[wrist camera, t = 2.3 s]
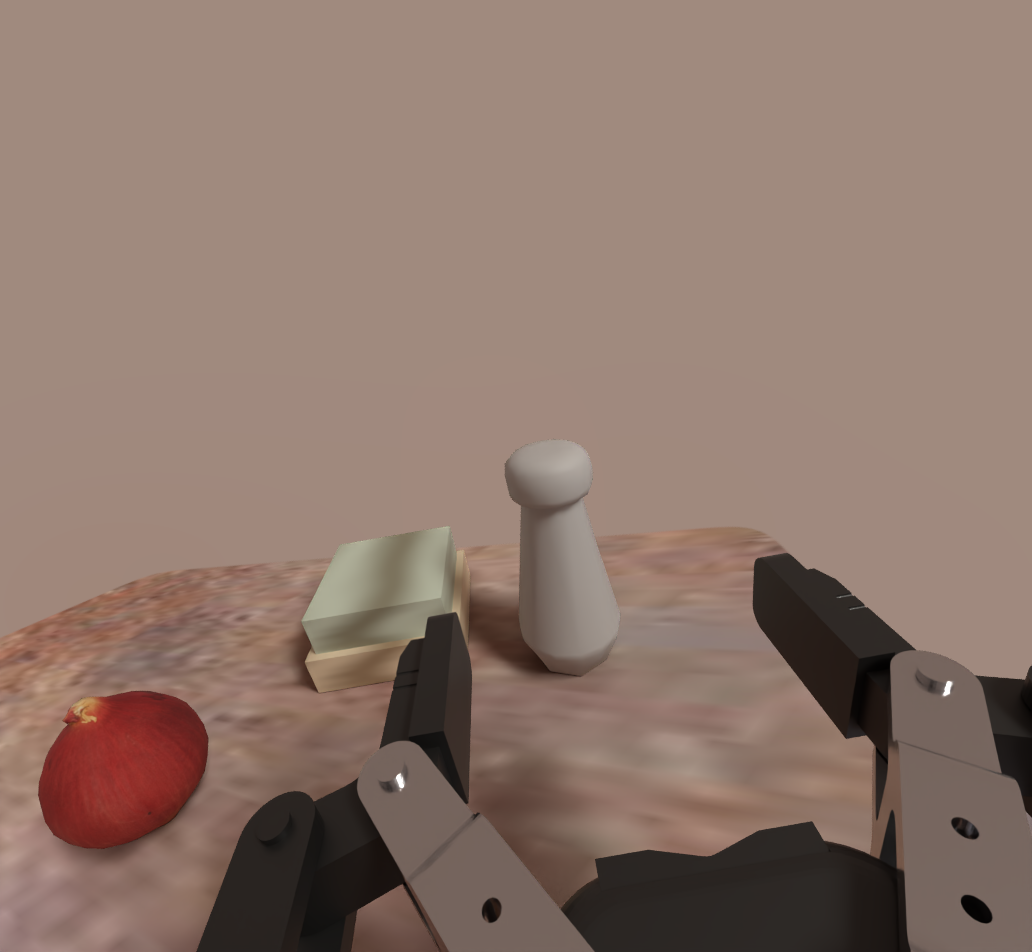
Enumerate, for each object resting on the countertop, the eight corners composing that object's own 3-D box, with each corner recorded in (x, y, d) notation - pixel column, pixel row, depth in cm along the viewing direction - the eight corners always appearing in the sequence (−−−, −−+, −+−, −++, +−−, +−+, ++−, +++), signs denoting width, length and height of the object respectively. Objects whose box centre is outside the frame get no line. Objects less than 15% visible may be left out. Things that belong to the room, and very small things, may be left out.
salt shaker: (520, 624, 31) (483, 439, 26) (606, 607, 31) (587, 419, 26) (533, 698, 26) (489, 484, 20) (636, 677, 26) (620, 459, 20)
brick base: (319, 693, 28) (289, 629, 26) (355, 596, 37) (335, 542, 34) (467, 667, 28) (449, 602, 26) (470, 576, 37) (457, 521, 34)
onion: (107, 802, 24) (14, 689, 21) (231, 737, 27) (166, 627, 23) (82, 920, 19) (-44, 799, 16) (236, 828, 22) (154, 707, 19)
